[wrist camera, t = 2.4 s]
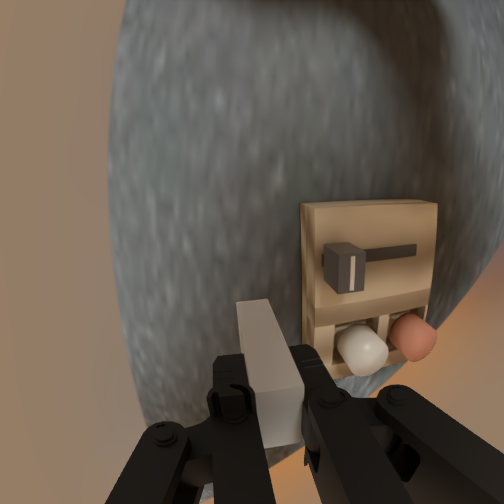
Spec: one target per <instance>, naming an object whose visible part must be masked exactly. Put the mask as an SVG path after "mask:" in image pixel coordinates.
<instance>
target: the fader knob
mask: <svg viewBox="0 0 504 504" xmlns="http://www.w3.org/2000/svg"><path fill="white" fill-rule="evenodd" d="M365 264H366V251H364V250H362V249H360V248H359V247H357V246H355V245H353V244H351V243H350V242H340V243H329V244H324V281H325V282H326V283H327V284H328V285H329V286H330V287H331V288H332V289H333V290H334V291H335V292H336V293H337V294H338V295H339V294H346V293H353V292H359V291H364V283H365Z"/></svg>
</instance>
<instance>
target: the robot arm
mask: <svg viewBox="0 0 504 504" xmlns="http://www.w3.org/2000/svg"><path fill="white" fill-rule="evenodd" d="M236 307H237V317H238V327H239V337H240V347H241V354H233V355H223V356H218V357H217V358H216V360H215V361H214V363H213V388H212V389H211V390H210V391H209V392H208V395H207V402H208V407H209V411H210V416H209V417H208V418H207V420H205V421H203V422H202V423H200V424H197V425H195V426H191V427H188V428H184V427H183V426H181V425H180V424H178V423H175V422H167V421H163V422H159V423H155V424H153V425H152V426H150V427H148V428H147V429H146V431H145V432H144V433H143V435H142V437H141V438H140V440H139V442H138V444H137V446H136V447H135V449H134V451H133V453H132V455H131V457H130V458H129V460H128V462H127V464H126V466H125V467H124V469H123V471H122V473H121V475H120V477H119V478H118V480H117V482H116V484H115V486H114V488H113V490H112V491H111V493H110V495H109V497H108V499H107V500H106V502H105V504H199V501H200V498H201V495H202V492H203V488H204V485H205V484H209V483H212V482H213V490H214V504H276V501H275V497H274V493H273V488H272V483H271V478H270V474H269V469H268V464H267V460H266V455H265V450H264V449H265V448H272V447H278V446H284V445H290V444H295V443H301V442H302V435H303V438H304V441H305V455H304V466H306V465H307V464H308V463H309V467H310V469H311V472H312V475H313V479H314V481H315V484H316V487H317V490H318V493H319V496H320V499H321V502H322V504H504V454H503V453H502V452H500V451H499V450H497V449H496V448H494V447H493V446H491V445H490V444H488V443H487V442H486V441H484V440H483V439H481V438H480V437H479V436H477V435H476V434H474V433H473V432H471V431H470V430H469V429H467V428H466V427H464V426H463V425H462V424H460V423H459V422H457V421H456V420H455V419H453V418H452V417H450V416H449V415H448V414H446V413H445V412H443V411H442V410H441V409H439V408H438V407H436V406H435V405H434V404H432V403H431V402H429V401H428V400H427V399H425V398H424V397H422V396H421V395H420V394H418V393H417V392H415V391H414V390H413V389H411V388H409V387H407V386H404V385H389V386H386V387H384V388H383V389H381V390H380V391H379V393H378V396H377V398H355V397H351V395H350V394H349V393H348V392H347V391H346V390H343V389H341V388H338V387H337V386H336V384H335V382H334V381H333V379H332V377H331V375H330V374H329V372H328V370H327V368H326V367H325V365H324V363H323V361H322V360H321V359H320V356H319V354H318V353H317V351H316V349H314V348H313V347H311V346H310V345H308V344H303V345H297V346H290V347H288V346H287V343H286V341H285V339H284V336H283V334H282V332H281V329H280V327H279V325H278V322H277V320H276V317H275V315H274V313H273V310H272V308H271V306H270V303H269V301H268V299H260V300H251V301H241V302H236Z"/></svg>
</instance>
